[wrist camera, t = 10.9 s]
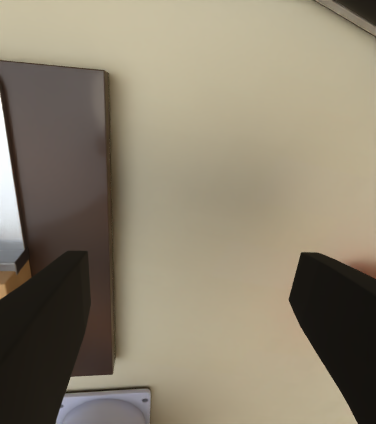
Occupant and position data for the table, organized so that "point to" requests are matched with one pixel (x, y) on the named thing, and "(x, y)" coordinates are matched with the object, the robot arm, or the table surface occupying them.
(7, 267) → the knife
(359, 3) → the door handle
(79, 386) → the table surface
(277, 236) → the table surface
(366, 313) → the robot arm
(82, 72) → the board
